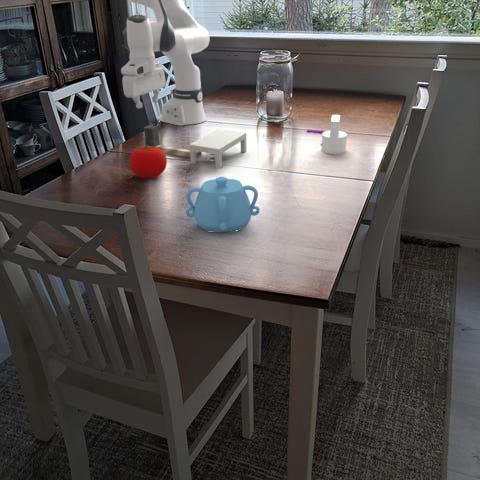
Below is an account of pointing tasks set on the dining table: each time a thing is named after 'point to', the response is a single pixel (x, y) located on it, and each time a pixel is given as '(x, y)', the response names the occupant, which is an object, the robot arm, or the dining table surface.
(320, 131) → the squeegee
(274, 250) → the dining table surface
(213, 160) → the steel puck
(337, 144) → the cylinder with rectangular tab
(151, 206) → the dining table surface
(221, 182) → the decorative pot
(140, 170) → the tomato
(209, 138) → the low bench
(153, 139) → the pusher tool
